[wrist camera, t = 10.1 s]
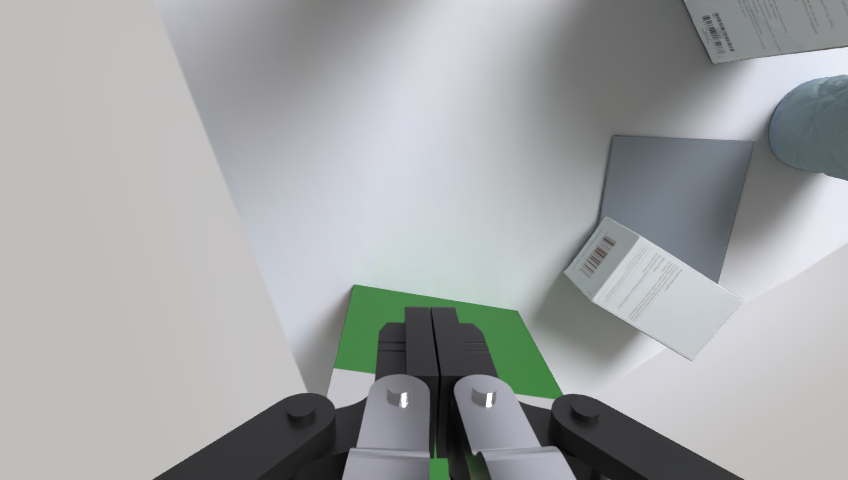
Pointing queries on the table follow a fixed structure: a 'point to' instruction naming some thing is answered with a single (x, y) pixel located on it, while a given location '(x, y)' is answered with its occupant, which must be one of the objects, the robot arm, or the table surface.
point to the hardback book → (499, 326)
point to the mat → (678, 194)
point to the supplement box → (651, 289)
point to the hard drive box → (768, 27)
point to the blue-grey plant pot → (813, 127)
